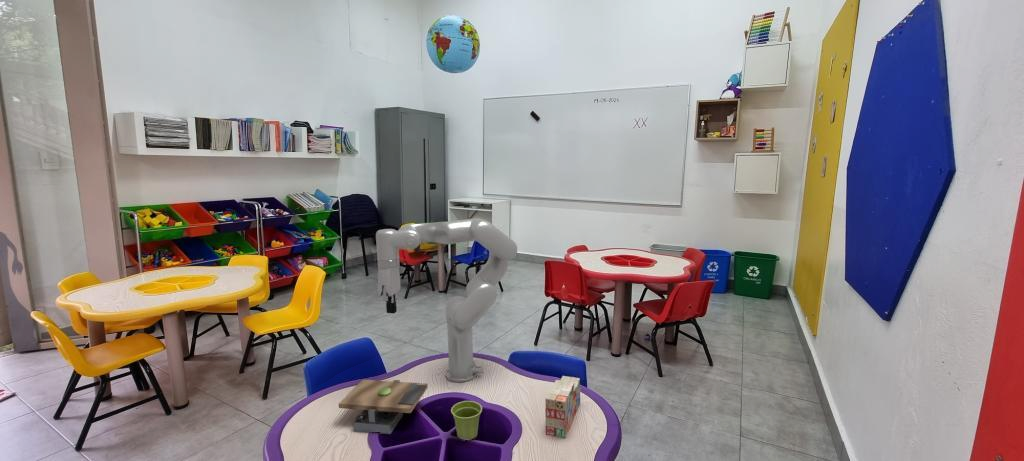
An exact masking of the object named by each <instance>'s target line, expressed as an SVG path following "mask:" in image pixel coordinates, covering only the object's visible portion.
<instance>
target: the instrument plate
mask: <svg viewBox="0 0 1024 461" xmlns="http://www.w3.org/2000/svg"><path fill="white" fill-rule="evenodd" d="M428 385H429V384H428V383H426V382H425V383H424V382H411V381H410V382H409V381H400V382H394V380H392V381H388V380H375V379H374V380H372V379H361V380H360V381H359V382H358V384H357V385H355V386H354V388H353V389H352V390H351V391H350V392H348V394H346V395H345V397H344V398H342V400H341V401H340V402H339V403H338V409H344V410H345V409H347V410H358V411H359V410H362V411H364V410H369V409H376V413H377V412H378V411H387V412H402V413H405V414H412V412H413V410H414V409H415V407H416V406H417V404H418V403H419V401H420V400H421V398H422V397H423V396H424V395H425V392H426V391H427V390H428V388H429V387H428Z"/></svg>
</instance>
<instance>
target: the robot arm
mask: <svg viewBox="0 0 1024 461" xmlns="http://www.w3.org/2000/svg"><path fill="white" fill-rule="evenodd" d="M375 241H376V254H377V255H376V258H377V259H376V260H377V269H378V270H377V296H378V297H382V301H383V302H385V308H386V313H387V314H395V313H396V312H397V294H398V292H399V291H400V290H401V275H400V269H399V268H400V253H399V252H400V250H414V249H416V248H418V247H419V245H420V244H422V243H423V244H424V243H435V244H436V243H437V244H442V245H453V244H458V243H467V242H469V243H470V242H477V243H479V244H480V245H481V246H482V247H484V248H485V249H486V250H488V251H489V255H488V259H487V261H486V263H485V264H484V265H483V267H482V268H481V269H480V270H478V272H477V273H476V274H475V275H474V276H473V277H472V278H471V279H470V280H469V282H468V283H467V284H466V288H465V290H466V294H467V296H466V297H464V296H461V295H455V296H452V297H451V298H449V300H447V302H446V305H445V319H446V320H445V321H446V330H447V351H448V355H447V356H448V368H447V369H446V371H445V373H444V375H445V378H446V379H447V380H448V381H451V382H457V383H463V382H469V381H472V380H473V379H475V378H476V377H477V376H478V373H479V374H484V373H485V367H483V365H478V364H476V361H474V349H473V347H474V346H473V345H474V344H473V326H475V325H476V324H477V323H478V322H479V321H480V320H481V318H482V317H484V315H485V314H486V313H487V312H488V311H489V310H490V309H491V308H492V306H493V305H494V303H495V302H496V299H497V297H498V292H497V288H496V286H497V284H499V282H500V281H501V280H502V279H503V277H504V276H505V275H506V273H507V271H508V268H509V264H510V261H511V260H513V259H514V258H515V257H516V256H517V253H518V246H517V243H516V242H515V241H514V240H513V239H512V238H510V237H509V236H508V235H507V234H505V233H504V232H503V231H501V230H500V229H499V228H497V227H496V226H495V225H493V223H491V222H489V221H488V220H485V219H483V218H479V217H478V218H465V219H458V220H457V219H456V220H451V221H450V220H448V221H438V222H423V223H413V224H406V225H404V226H401V227H400V228H399V229H398V230H396V229H395V228H394V229H393V228H384V229H379V230H377V231H376V233H375Z"/></svg>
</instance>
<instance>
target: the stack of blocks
mask: <svg viewBox="0 0 1024 461" xmlns="http://www.w3.org/2000/svg"><path fill="white" fill-rule="evenodd" d="M580 404H581V378H579V377H574V376H568V375H566V376H565V375H562V376H561V379H556V380H555V381H554V383H553V385H552V387H551V389H550V390H549V392H548V394H547V395H546V397H545V408H544V409H545V435H546V436H551V437H557V438H559V439H560V438H561V439H566V437H567V435H568V433H569V431H570V428H571V426H572V424H573V421H574V418H575V416H576V413H577V412H578V409H579V407H580V406H581V405H580Z"/></svg>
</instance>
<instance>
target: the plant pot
mask: <svg viewBox="0 0 1024 461" xmlns="http://www.w3.org/2000/svg"><path fill="white" fill-rule="evenodd" d="M450 412H451V415H452V416H453V419H454V424H455V429H456V435H457V438H459V439H460V438H463V439H470V440H469V441H472V440H473V439H475V438H477V436H478V431H479V421H480V416H481V413H482V412H483V407H482V405H481V404H480V403H479V402H477V401H473V400H463V401H460V402H457V403H455V404H453V406H452V407H451V409H450Z"/></svg>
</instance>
